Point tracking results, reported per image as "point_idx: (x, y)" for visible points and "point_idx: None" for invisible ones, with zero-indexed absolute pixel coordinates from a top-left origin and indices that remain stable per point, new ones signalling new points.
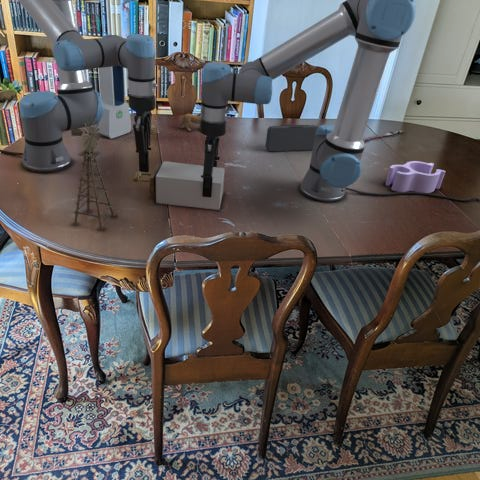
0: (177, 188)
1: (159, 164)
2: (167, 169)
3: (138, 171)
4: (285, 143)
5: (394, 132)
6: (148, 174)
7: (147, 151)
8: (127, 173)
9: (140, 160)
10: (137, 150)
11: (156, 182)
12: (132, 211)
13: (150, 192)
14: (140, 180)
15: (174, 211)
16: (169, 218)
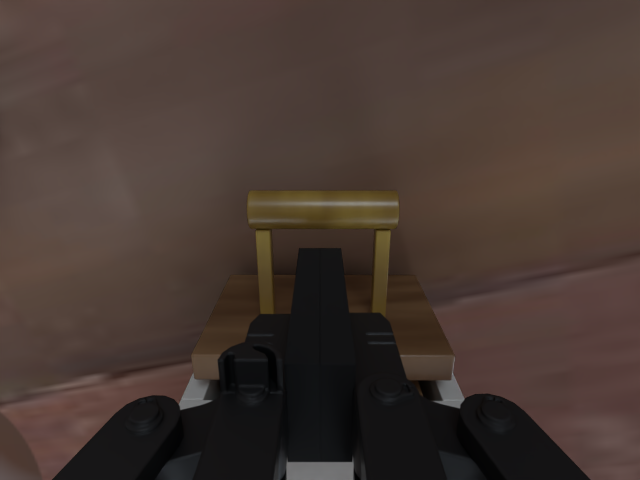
0: None
1: (450, 374)
2: (320, 463)
3: (376, 209)
4: None
5: None
6: (372, 277)
7: (328, 455)
8: (594, 33)
9: (249, 334)
10: (100, 448)
11: (188, 383)
12: (95, 206)
13: (221, 296)
14: (257, 247)
15: (176, 387)
16: (106, 378)
